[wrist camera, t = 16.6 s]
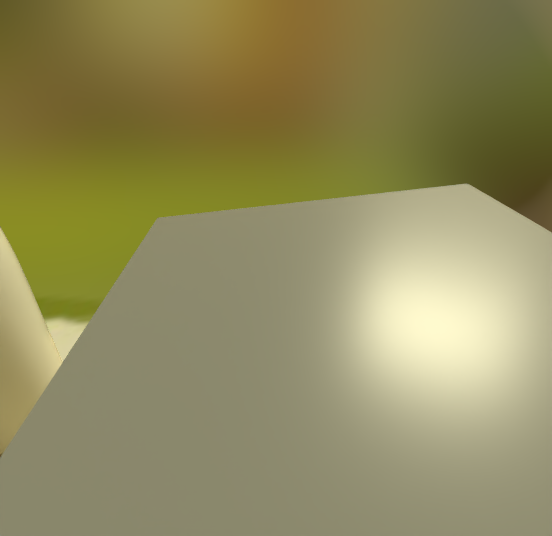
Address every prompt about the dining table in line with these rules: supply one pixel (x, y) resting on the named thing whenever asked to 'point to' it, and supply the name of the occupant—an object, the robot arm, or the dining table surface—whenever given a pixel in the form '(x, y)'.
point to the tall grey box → (305, 379)
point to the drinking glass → (21, 347)
